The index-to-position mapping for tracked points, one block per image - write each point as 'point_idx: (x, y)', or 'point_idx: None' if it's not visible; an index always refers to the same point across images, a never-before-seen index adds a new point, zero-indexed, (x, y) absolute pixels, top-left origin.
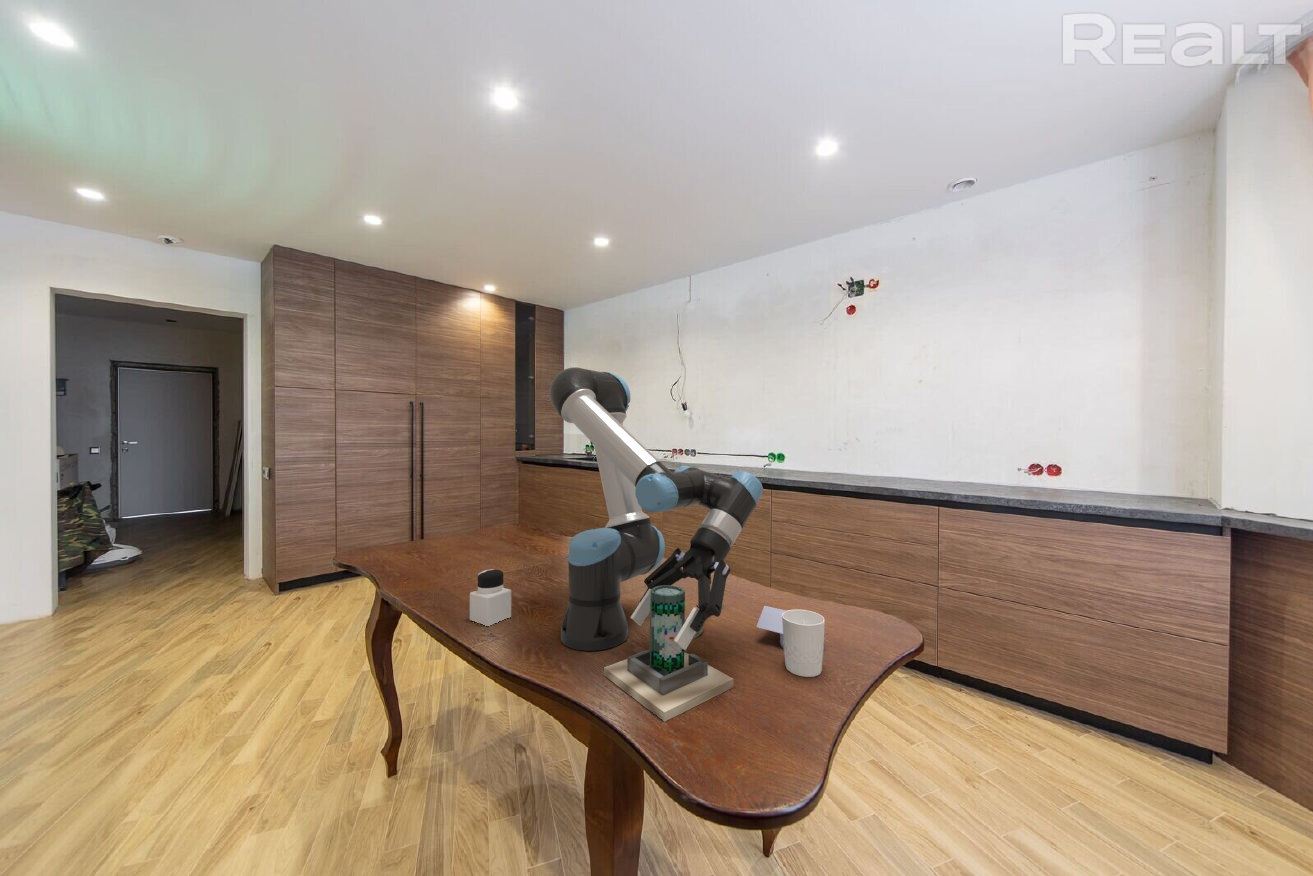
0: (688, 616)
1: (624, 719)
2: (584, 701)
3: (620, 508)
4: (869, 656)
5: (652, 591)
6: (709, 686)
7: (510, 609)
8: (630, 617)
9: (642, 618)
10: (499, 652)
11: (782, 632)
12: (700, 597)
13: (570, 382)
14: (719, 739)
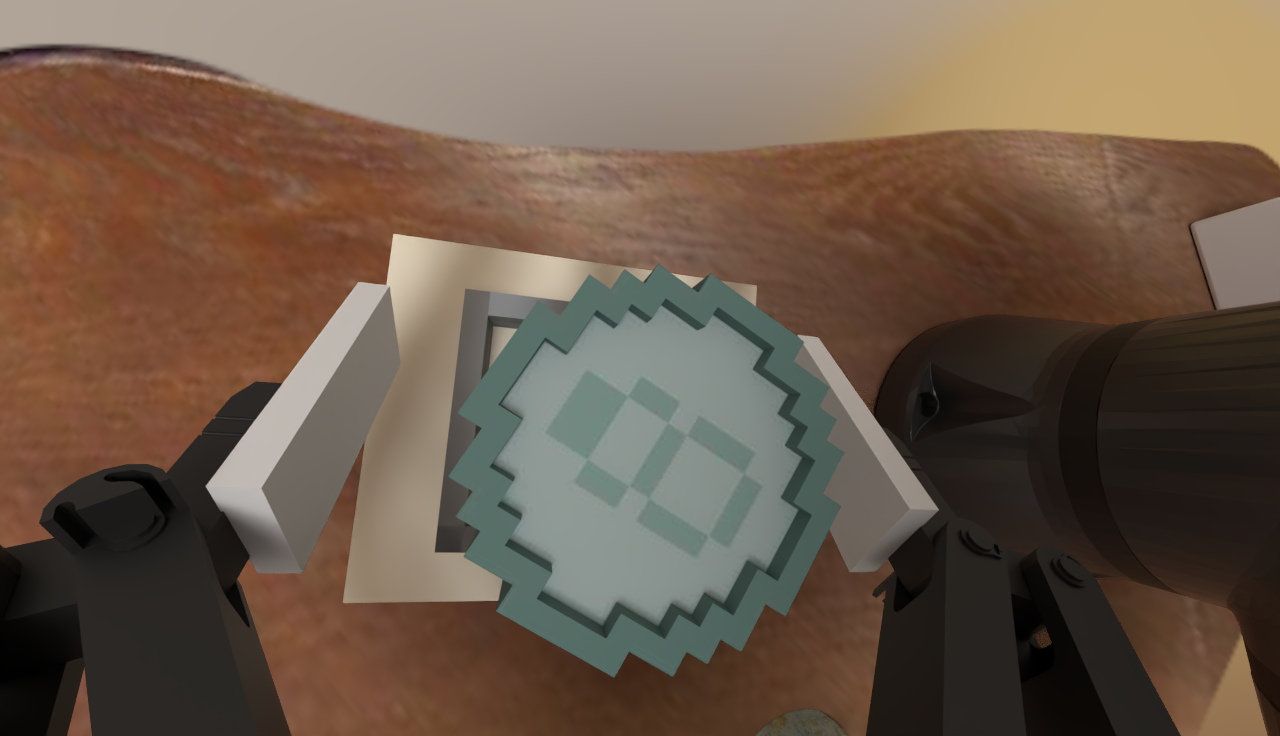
0: (312, 408)
1: (508, 175)
2: (665, 160)
3: None
4: None
5: (742, 305)
6: (382, 477)
7: (1258, 301)
8: (817, 337)
9: None
10: (1037, 163)
11: None
12: (176, 634)
13: None
14: (189, 301)
